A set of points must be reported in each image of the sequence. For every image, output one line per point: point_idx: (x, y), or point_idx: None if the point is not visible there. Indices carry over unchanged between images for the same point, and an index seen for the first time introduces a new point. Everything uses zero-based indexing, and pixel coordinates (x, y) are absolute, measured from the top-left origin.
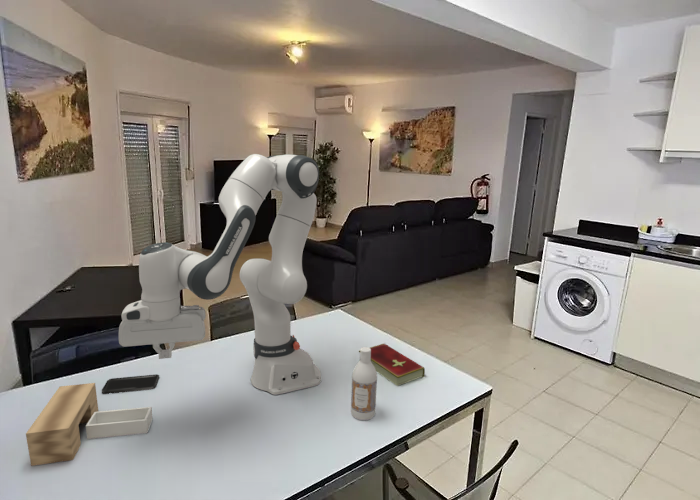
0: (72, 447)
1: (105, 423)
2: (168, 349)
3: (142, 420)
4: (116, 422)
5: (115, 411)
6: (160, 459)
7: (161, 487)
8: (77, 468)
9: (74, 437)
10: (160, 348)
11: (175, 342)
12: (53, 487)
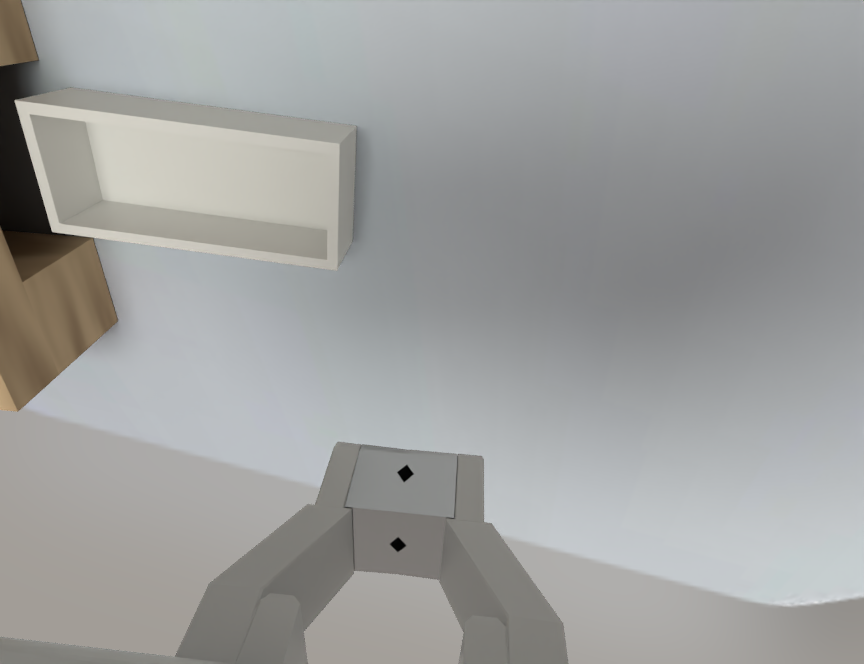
0: (85, 339)
1: (140, 238)
2: (442, 518)
3: (319, 267)
4: (193, 246)
5: (138, 128)
6: (430, 405)
7: None
8: (159, 365)
9: (59, 324)
10: (326, 549)
11: (562, 628)
12: (132, 419)
